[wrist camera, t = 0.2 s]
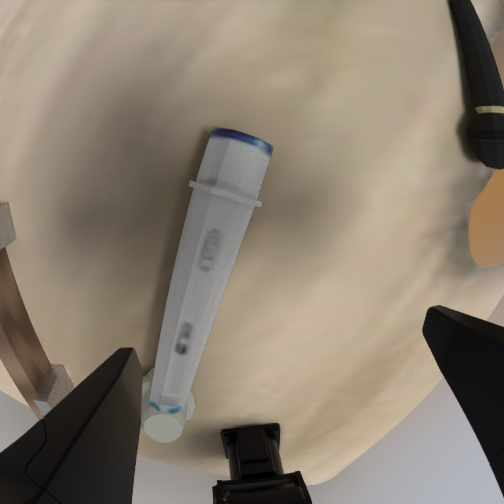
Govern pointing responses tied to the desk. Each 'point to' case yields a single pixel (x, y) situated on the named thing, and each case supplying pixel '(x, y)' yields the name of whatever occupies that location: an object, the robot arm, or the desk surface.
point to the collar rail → (25, 339)
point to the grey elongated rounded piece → (202, 274)
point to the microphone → (482, 87)
